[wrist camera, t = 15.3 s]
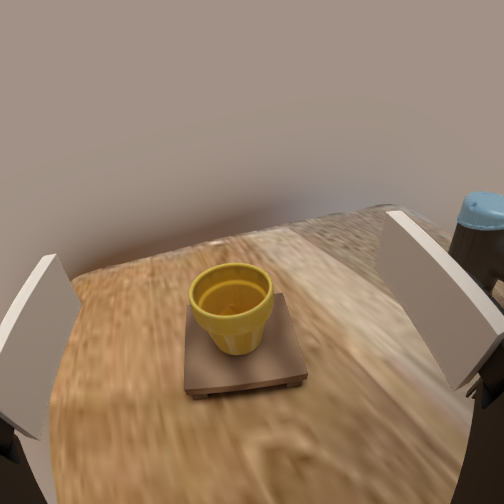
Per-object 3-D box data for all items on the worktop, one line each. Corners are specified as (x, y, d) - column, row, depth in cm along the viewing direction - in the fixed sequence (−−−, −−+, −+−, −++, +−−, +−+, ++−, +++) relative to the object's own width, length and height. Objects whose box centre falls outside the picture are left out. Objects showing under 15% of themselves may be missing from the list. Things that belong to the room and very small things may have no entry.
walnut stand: (282, 309, 49) (282, 292, 46) (305, 387, 35) (307, 373, 33) (191, 321, 48) (186, 305, 45) (191, 402, 34) (184, 389, 32)
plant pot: (207, 311, 44) (196, 262, 38) (273, 310, 43) (272, 259, 38) (197, 366, 35) (179, 317, 30) (275, 366, 35) (274, 317, 29)
